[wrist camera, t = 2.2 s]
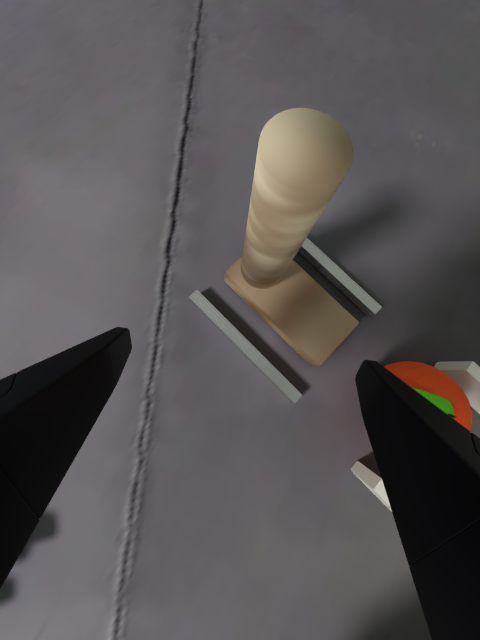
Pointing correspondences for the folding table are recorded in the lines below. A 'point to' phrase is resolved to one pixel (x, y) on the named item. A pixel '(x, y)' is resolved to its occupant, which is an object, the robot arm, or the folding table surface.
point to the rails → (251, 352)
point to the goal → (476, 387)
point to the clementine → (435, 389)
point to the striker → (293, 230)
